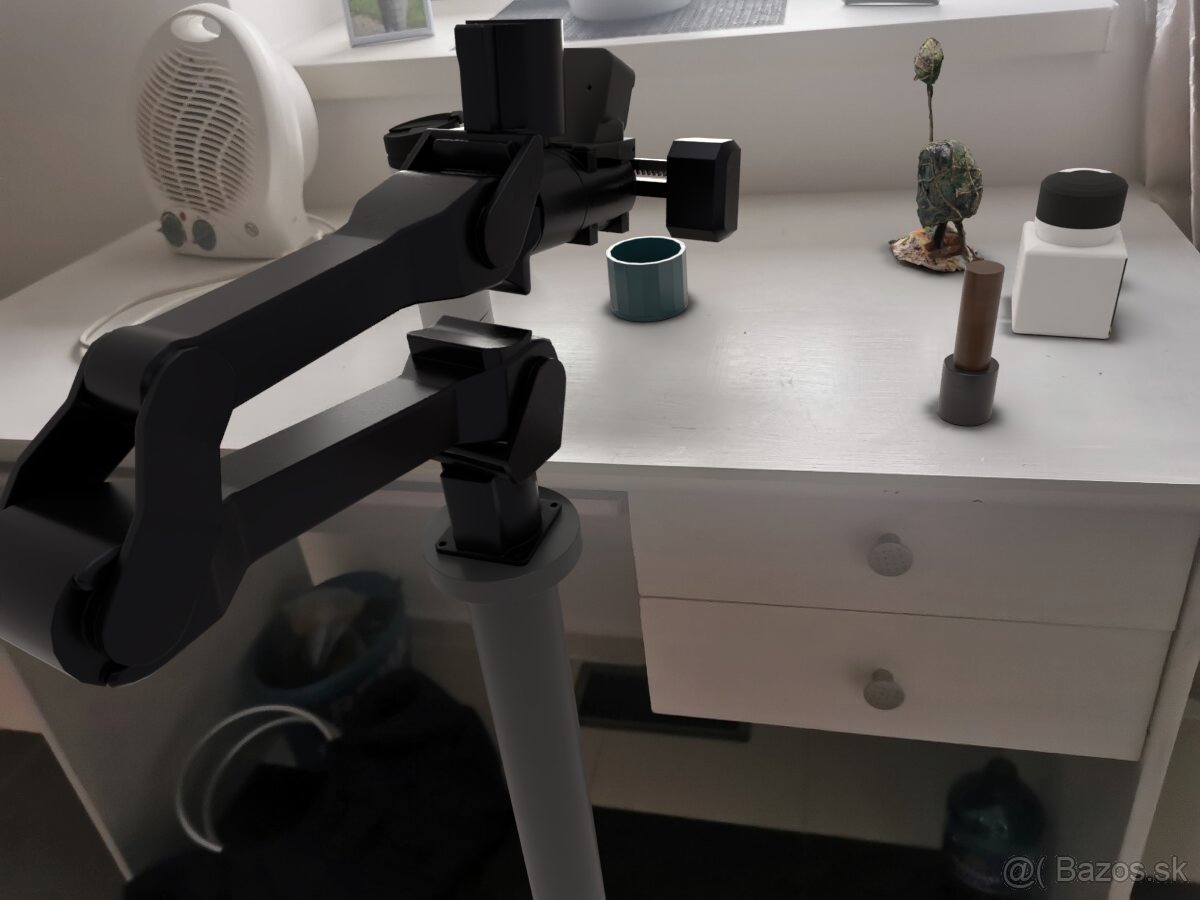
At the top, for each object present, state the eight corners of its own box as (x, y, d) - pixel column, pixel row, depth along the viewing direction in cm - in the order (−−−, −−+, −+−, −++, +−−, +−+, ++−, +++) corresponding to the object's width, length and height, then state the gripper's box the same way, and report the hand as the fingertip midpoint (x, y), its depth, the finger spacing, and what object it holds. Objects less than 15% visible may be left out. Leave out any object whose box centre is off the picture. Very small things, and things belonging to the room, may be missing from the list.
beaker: (676, 324, 82) (673, 266, 79) (600, 319, 84) (595, 262, 81) (696, 292, 87) (694, 237, 84) (625, 288, 90) (620, 234, 87)
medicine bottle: (1109, 340, 72) (1144, 189, 65) (1011, 334, 74) (1035, 188, 68) (1101, 304, 77) (1133, 161, 71) (1010, 299, 80) (1033, 161, 73)
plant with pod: (905, 286, 84) (928, 54, 73) (882, 243, 93) (899, 32, 83) (997, 281, 83) (1033, 45, 72) (964, 238, 93) (992, 24, 82)
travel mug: (497, 359, 79) (457, 121, 68) (422, 365, 79) (370, 129, 68) (504, 329, 84) (468, 103, 73) (434, 334, 84) (388, 111, 74)
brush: (991, 428, 63) (1015, 278, 57) (936, 423, 64) (954, 276, 58) (991, 402, 66) (1014, 257, 60) (938, 398, 67) (956, 255, 61)
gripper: (686, 59, 49) (788, 49, 61) (419, 58, 57) (554, 50, 69) (681, 265, 53) (776, 218, 66) (436, 235, 62) (559, 198, 74)
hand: (662, 166), depth 69 cm, fingers open, 9 cm apart
